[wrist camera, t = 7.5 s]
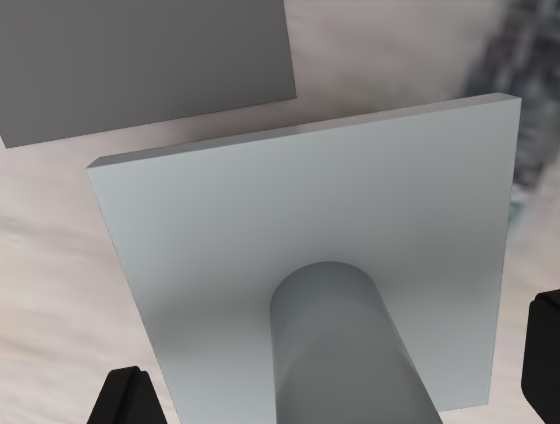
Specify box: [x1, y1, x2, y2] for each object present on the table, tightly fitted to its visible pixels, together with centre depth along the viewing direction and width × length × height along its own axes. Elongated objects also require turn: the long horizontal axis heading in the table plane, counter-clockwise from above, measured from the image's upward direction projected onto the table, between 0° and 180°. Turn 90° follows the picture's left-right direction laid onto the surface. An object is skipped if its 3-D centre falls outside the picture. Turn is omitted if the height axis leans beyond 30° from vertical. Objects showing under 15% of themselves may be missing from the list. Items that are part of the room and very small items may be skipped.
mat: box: [0, 0, 297, 149], centre depth 17 cm, size 14×10×1 cm
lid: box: [85, 92, 522, 424], centre depth 10 cm, size 11×11×6 cm
